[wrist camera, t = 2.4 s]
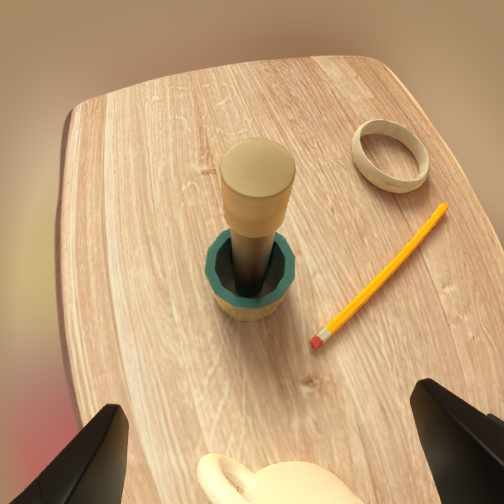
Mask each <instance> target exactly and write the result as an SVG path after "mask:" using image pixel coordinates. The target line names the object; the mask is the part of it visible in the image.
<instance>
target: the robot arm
mask: <svg viewBox="0 0 504 504" xmlns="http://www.w3.org/2000/svg"><path fill="white" fill-rule="evenodd" d="M410 405H411V408H412V412H413V416H414V419H415V423H416V427H417V431H418V435H419V439H420V442H421V445H422V448H423V451H424V453H425V456H426V459H427V462H428V464H429V467H430V470H431V473H432V476H433V479H434V482H435V485H436V488H437V491H438V494H439V497H440V500H441V503H442V504H504V427H503V426H501V425H500V424H498V423H497V422H495V421H494V420H492V419H491V418H489V417H488V416H486V415H485V414H483V413H482V412H480V411H479V410H477V409H476V408H474V407H473V406H471V405H470V404H468V403H467V402H465V401H464V400H462V399H461V398H459V397H458V396H456V395H455V394H453V393H452V392H450V391H449V390H447V389H446V388H444V387H443V386H441V385H440V384H438V383H437V382H435V381H434V380H432V379H430V378H426V379H422V380H419V381H418V382H417V383H416V385H415V388H414V390H413V392H412V394H411V397H410ZM128 431H129V423H128V420H127V418H126V415H125V413H124V411H123V409H122V407H121V406H120V405H119V404H106V405H105V406H104V407H103V408H102V409H101V410H100V411H99V412H98V413H97V414H96V415H95V416H94V417H93V418H92V419H91V421H90V422H89V423H88V424H87V425H86V426H85V427H84V428H83V429H82V430H81V431H80V432H79V433H78V434H77V435H76V436H75V437H74V438H73V440H72V441H71V442H70V443H69V444H68V445H67V446H66V447H65V448H64V449H63V450H62V451H61V452H60V453H59V454H58V455H57V457H56V458H55V459H54V460H53V461H52V462H51V463H50V464H49V465H48V466H47V467H46V468H45V469H44V470H43V471H42V472H41V473H40V474H39V476H38V477H37V478H36V479H35V480H34V481H33V482H32V483H31V484H30V485H29V486H28V487H27V488H26V489H25V490H24V491H23V492H22V493H21V494H20V495H18V496H17V497H16V498H15V499H14V500H13V501H12V502H10V503H9V504H121V498H122V492H123V486H124V479H125V473H126V464H127V446H128Z"/></svg>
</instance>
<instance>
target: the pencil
mask: <svg viewBox="0 0 504 504" xmlns="http://www.w3.org/2000/svg"><path fill="white" fill-rule="evenodd" d="M447 209H448V205H447V204H446V203H442V204H441V205H440V206H439V207H438V209H437V210H436V211H435V212H434V213H433V215H432V216H431V217H430V218H429V219H428V220H427V222H426V223H425V224H424V225H423V226H422V227H421V229H420V230H419V231H418V232H417V233H416V234H415V235H414V237H413V238H412V239H411V240H410V241H409V242H408V243H407V244H406V245H405V247H404V248H403V249H402V250H401V251H400V252H399V253H398V254H397V255H396V256H395V257H394V258H393V260H392V261H391V262H390V263H389V264H388V265H387V266H386V267H385V268H384V269H383V270H382V271H381V272H380V273H379V274H378V275H377V276H376V277H375V278H374V279H373V281H372V282H371V283H370V284H369V285H368V286H367V287H366V288H365V289H364V290H363V291H362V292H361V293H360V294H359V295H358V296H357V297H356V298H355V299H354V300H353V301H352V302H351V303H349V304H348V305H347V306H346V307H345V308H344V309H343V310H342V311H341V312H340V313H339V314H338V315H337V316H336V317H335V318H334V319H333V320H332V321H331V322H330V323H329V324H327V325H326V326H325V327H324V328H323V329H322V330H321V331H320V332H319V333H318V334H317V335H316V336H314V337H313V338H312V339H311V340H310V341H309V342H310V344H311V345H312V347H313V348H315V349H318V348H319V347H320V346H321V345H322V344H323V343H324V342H325V341H326V340H328V339H329V338H330V337H331V336H332V335H333V334H334V333H335V332H336V331H337V330H338V329H339V328H340V327H341V326H342V325H343V324H344V323H345V322H346V321H347V320H348V319H349V318H350V317H351V316H352V315H353V314H354V313H356V312H357V311H358V310H359V308H360V307H361V306H362V305H363V304H364V303H365V302H366V301H367V300H368V299H369V298H370V297H371V296H372V295H373V294H374V293H375V292H376V291H377V290H378V289H379V288H380V287H381V286H382V285H383V284H384V283H385V282H386V280H387V279H388V278H389V277H390V276H391V275H392V274H393V273H394V272H395V271H396V270H397V268H398V267H399V266H400V265H401V264H402V263H403V262H404V261H405V260H406V258H407V257H408V256H409V255H410V254H411V253H412V252H413V250H414V249H415V248H416V247H417V246H418V245H419V244H420V242H421V241H422V240H423V239H424V238H425V236H426V235H427V234H428V233H429V232H430V230H431V229H432V228H433V227H434V226H435V224H436V223H437V222H438V221H439V219H440V218H441V217H442V216H443V215H444V213H445V212H446V211H447Z"/></svg>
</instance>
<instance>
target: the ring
mask: <svg viewBox="0 0 504 504" xmlns="http://www.w3.org/2000/svg"><path fill="white" fill-rule="evenodd" d="M369 133H383V134H386V135H389V136H392V137H394V138H396V139H398V140H399V141H401V142H402V143H403V144H404V145H406V146H407V147H408V148H409V149H410V151H411V152H412V153H413V155H414V156H415V158H416V160H417V162H418V166H419V178H418V179H415V180H400V179H397V178H394V177H391V176H389V175H387V174H385V173H384V172H382V171H381V170H379V169H378V168H377V167H376V166H374V165H373V164H372V163H371V161H370V160H369V159H368V158H367V156H366V155H365V153H364V151H363V149H362V147H361V143H360V138H361V137H362V136H364V135H366V134H369ZM351 150H352V156H353V159H354V162H355V164H356V166H357V168H358V169H359V171H360V172H361V173H362V174H363V176H364V177H365V178H366V179H368V180H369V181H370V182H371V183H373V184H374V185H376V186H377V187H379V188H381V189H383V190H386V191H389V192H393V193H407V192H411V191H413V190H415V189H417V188H419V187H420V186H421V185H422V184H423V183H424V182H425V180H426V178H427V176H428V173H429V167H430V162H429V156H428V153H427V151H426V149H425V147H424V145H423V144H422V142H421V141H420V140H419V138H418V137H417V136H416V135H415V134H414V133H413V132H411V131H410V130H409V129H407V128H406V127H404V126H402V125H400V124H398V123H396V122H393V121H389V120H383V119H376V120H371V121H368V122H366V123H364V124H363V125H361V126H360V127H359V128H358V129H357V131H356V132H355V134H354V136H353V139H352V144H351Z"/></svg>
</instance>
